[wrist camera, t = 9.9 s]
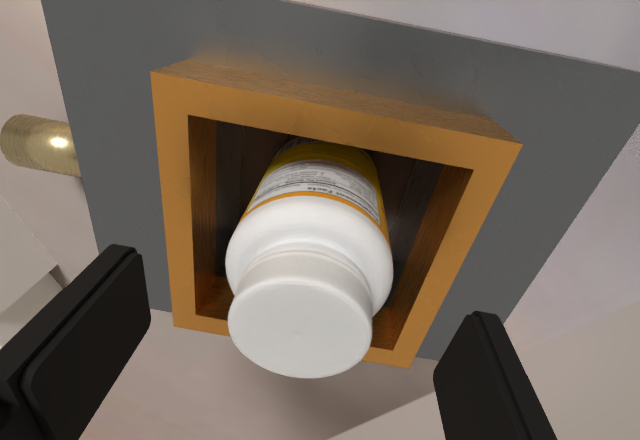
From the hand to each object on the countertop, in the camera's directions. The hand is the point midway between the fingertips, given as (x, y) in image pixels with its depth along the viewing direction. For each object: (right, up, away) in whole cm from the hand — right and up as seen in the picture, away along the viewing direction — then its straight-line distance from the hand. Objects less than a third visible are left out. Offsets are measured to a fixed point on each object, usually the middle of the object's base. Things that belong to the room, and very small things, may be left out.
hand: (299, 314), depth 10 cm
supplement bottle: (+1, +5, +8) cm, 10 cm away
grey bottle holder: (-1, +5, +8) cm, 10 cm away
